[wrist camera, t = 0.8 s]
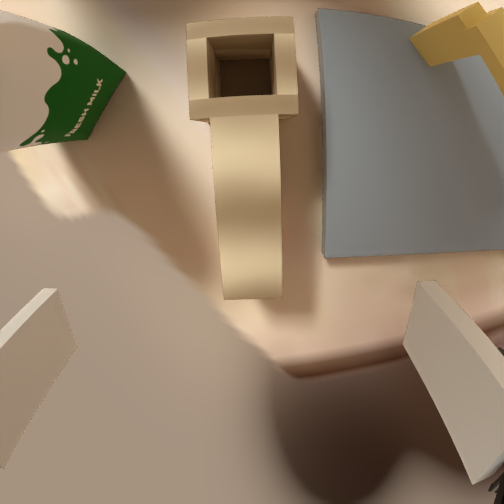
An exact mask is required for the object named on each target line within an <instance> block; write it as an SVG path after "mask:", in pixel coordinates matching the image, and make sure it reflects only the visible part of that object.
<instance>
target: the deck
mask: <svg viewBox="0 0 504 504" xmlns="http://www.w3.org/2000/svg"><path fill="white" fill-rule="evenodd" d="M315 17H316V28H317V40H318V53H319V67H320V85H321V107H322V141H323V215H322V250H321V251H322V253H323V255H324V257H325V258H334V257H358V256H381V255H404V254H425V253H446V252H466V251H486V250H504V9H503V8H502V7H501V8H498V9H495V10H492V11H490V12H488V13H486V12H485V10H484V9H483V8H482V6H481V5H480V3H479V2H476V3H474V4H472V5H469V6H467V7H465V8H463V9H460V10H458V11H456V12H454V13H452V14H450V15H448V16H445V17H443V18H441V19H439V20H437V21H435V22H433V23H431V24H429V25H427V26H424V25H421V24H416V23H412V22H408V21H403V20H399V19H394V18H389V17H383V16H378V15H372V14H365V13H358V12H350V11H341V10H331V9H319V8H318V10H317V12H316V14H315Z"/></svg>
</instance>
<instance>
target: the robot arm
mask: <svg viewBox="0 0 504 504" xmlns="http://www.w3.org/2000/svg"><path fill="white" fill-rule="evenodd" d="M403 346H404V348H405V349H406V351H407V353H408V355H409V356H410V358H411V360H412V362H413V364H414V365H415V367H416V369H417V371H418V372H419V375H420V376H421V378H422V380H423V382H424V384H425V386H426V388H427V389H428V391H429V393H430V395H431V397H432V399H433V401H434V403H435V405H436V407H437V409H438V411H439V413H440V415H441V417H442V419H443V421H444V423H445V425H446V427H447V429H448V431H449V433H450V435H451V438H452V440H453V442H454V444H455V446H456V448H457V451H458V453H459V455H460V457H461V459H462V462H463V464H464V466H465V469H466V471H467V473H468V476H469V478H470V480H471V483H472V484H475V483H477V482H479V481H481V480H483V479H486V478H488V477H490V476H492V475H493V474H494V473H495V472H496V471H497V470H498V469H499V468H500V466H502V464H504V350H503V349H502V348H500V347H499V348H496V347H495V345H494V344H493V343H492V342H491V341H490V339H489V338H488V337H487V336H486V335H485V334H484V332H483V331H482V330H481V329H480V328H479V327H478V326H477V325H476V323H475V322H474V321H473V320H472V319H471V318H470V317H469V316H468V314H467V313H466V312H465V311H464V310H463V309H462V308H461V307H460V306H459V305H458V304H457V303H456V302H455V300H454V299H453V298H452V297H451V296H450V295H449V294H448V293H447V292H446V291H445V290H444V289H443V288H442V287H441V286H440V285H439V284H438V283H437V282H436V281H435V280H432V281H418V282H417V287H416V291H415V296H414V301H413V305H412V309H411V314H410V318H409V322H408V326H407V330H406V333H405V337H404V341H403ZM77 347H78V346H77V343H76V341H75V338H74V335H73V333H72V330H71V327H70V325H69V322H68V319H67V316H66V314H65V310H64V307H63V304H62V301H61V298H60V295H59V292H58V289H42V290H41V291H40V292H39V293H38V294H37V295H36V296H35V297H34V298H33V299H32V300H31V301H30V302H29V303H27V305H25V306H24V307H23V308H22V309H21V310H20V311H19V312H18V313H17V314H16V315H15V316H14V317H13V318H12V319H11V320H10V321H9V322H8V323H7V324H6V325H5V326H4V327H3V328H2V329H1V330H0V467H1V468H3V469H4V468H5V466H6V464H7V462H8V460H9V458H10V456H11V454H12V452H13V451H14V449H15V447H16V445H17V443H18V441H19V440H20V438H21V436H22V435H23V433H24V431H25V429H26V428H27V426H28V424H29V422H30V421H31V419H32V417H33V416H34V414H35V412H36V411H37V409H38V407H39V406H40V404H41V403H42V401H43V399H44V398H45V396H46V394H47V393H48V391H49V390H50V388H51V387H52V385H53V383H54V382H55V380H56V379H57V377H58V376H59V374H60V373H61V371H62V370H63V368H64V366H65V365H66V364H67V362H68V361H69V359H70V357H71V356H72V355H73V353H74V352H75V350H76V349H77ZM499 483H500V484H499ZM498 484H499V488H498V489H497V490H496V491H495V493H497V495H496V498H495V501H494V504H504V473H503V474H502V475H501V476H500V477H499V478H498V479H497V480H496V481H495V482H494V483H493V484H491V486H490V488H489V490H488V491H492V490H493V489H494V488H495V487H496V486H497V485H498Z"/></svg>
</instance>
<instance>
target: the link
mask: <svg viewBox="0 0 504 504" xmlns="http://www.w3.org/2000/svg"><path fill="white" fill-rule="evenodd" d="M186 39H187V72H188V95H189V114H190V120H195V121H202V122H210V130H211V147H212V162H213V177H214V190H215V204H216V216H217V229H218V240H219V252H220V263H221V274H222V284H223V294H224V300H235V299H268V298H282V218H281V175H280V144H279V119H288V118H290V117H293V116H295V115H298V114H299V107H298V85H297V67H296V51H295V37H294V24H293V17H249V18H232V19H220V20H210V21H201V22H194V23H186ZM266 58H270V74H271V94H272V95H251V96H233V97H221V81H220V61H227V60H242V59H266Z"/></svg>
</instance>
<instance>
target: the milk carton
mask: <svg viewBox="0 0 504 504" xmlns="http://www.w3.org/2000/svg"><path fill="white" fill-rule="evenodd" d="M125 73H126V72H125V71H124V70H123V69H121V68H120V67H119V66H117V65H116V64H115V63H113V62H112V61H111V60H109V59H108V58H107V57H105V56H104V55H103V54H101V53H100V52H99V51H97V50H96V49H94V48H93V47H91V46H90V45H88V44H86V43H85V42H83V41H81V40H80V39H78V38H76V37H74V36H72V35H70V34H68V33H66V32H64V31H62V30H59V29H56V28H54V27H51V26H48V25H46V24H43V23H40V22H37V21H34V20H32V19H29V18H26V17H23V16H19V15H16V14H13V13H10V12H6V11H1V10H0V152H5V151H10V150H15V149H20V148H25V147H30V146H36V145H42V144H50V143H58V142H67V141H76V140H87V139H88V138H89V136H90V134H91V132H92V130H93V128H94V126H95V124H96V122H97V120H98V119H99V117H100V115H101V113H102V111H103V110H104V108H105V106H106V104H107V103H108V101H109V99H110V98H111V96H112V94H113V92H114V91H115V89H116V88H117V86H118V84H119V83H120V81H121V80H122V78H123V76H124V75H125Z"/></svg>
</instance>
